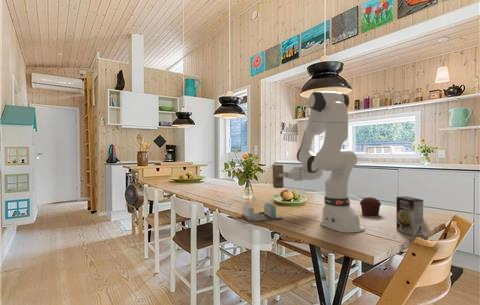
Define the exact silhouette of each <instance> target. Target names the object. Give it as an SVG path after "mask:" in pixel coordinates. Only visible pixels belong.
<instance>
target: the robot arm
mask: <svg viewBox="0 0 480 305" xmlns="http://www.w3.org/2000/svg"><path fill="white" fill-rule="evenodd" d="M308 98H309V99H308V106H309V107H310V111H309V115H308V121H307V125H306V127H305V129H304V132H303V135H302V140H301V143H300V148H299V149H298V150H297V153H296V159H297V161H298V162H300V163H301V164H302V166H294V167H293V168H291V169H283V174H278V176H279V177H283V178H285V179H289V180H290V179H291V180H294V182H303V181H316V180H319V179H320V178H322V176H323V171H324V172H331V173H330V175H329V177H328V178H327V179H326V180H325V182H324V184H325V185H324V188H325V189H324V197H323V198H324V199H323V201H324V206H323V208H322V213H321V214H322V216H321V221H320V222H319V225H320V226H322V227H325V228H328V229H331V230H334V231H337V232H339V233H346V234H347V233H358V232H364V231H366V228H365V226H363V225H361V224H360V223H361V222H360V217H359V215H358V214H357V213H356V212H355V211H354V209H353V208H352V207H351V204H352V202H351V201H350V199H349V197H348V186H349V178H350V175H351V173H352V170H353V169H354V167H356V165H357V163H358V156H357V155H356V153H355V152H354V151H351V150H348V149H342V147H343V144H344V142H346V141H347V140H348V137H349V136H348V135H349V112H348V108H349V106H350V97H349V95H348V94H347V93H344V92H339V91H338V92H337V91H331V90H329V91H328V90H323V91H320V90H317V91H312V93H311V94H310V95H309V97H308ZM324 132H325V133H324ZM322 134H325V135H324V140H323V143H322V147H321V148H320V150H319V151H317V153H314V152H313V151H312V149H311V148H312V147H311V146H312V144H313V140H314V137H315V136H317V135H319V136H320V135H322Z"/></svg>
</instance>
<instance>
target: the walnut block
mask: <svg viewBox="0 0 480 305" xmlns="http://www.w3.org/2000/svg"><path fill="white" fill-rule="evenodd" d="M283 170H284V165H283V164H272V187H273V188H274V189H284V177H279V176H278V174H283Z"/></svg>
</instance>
